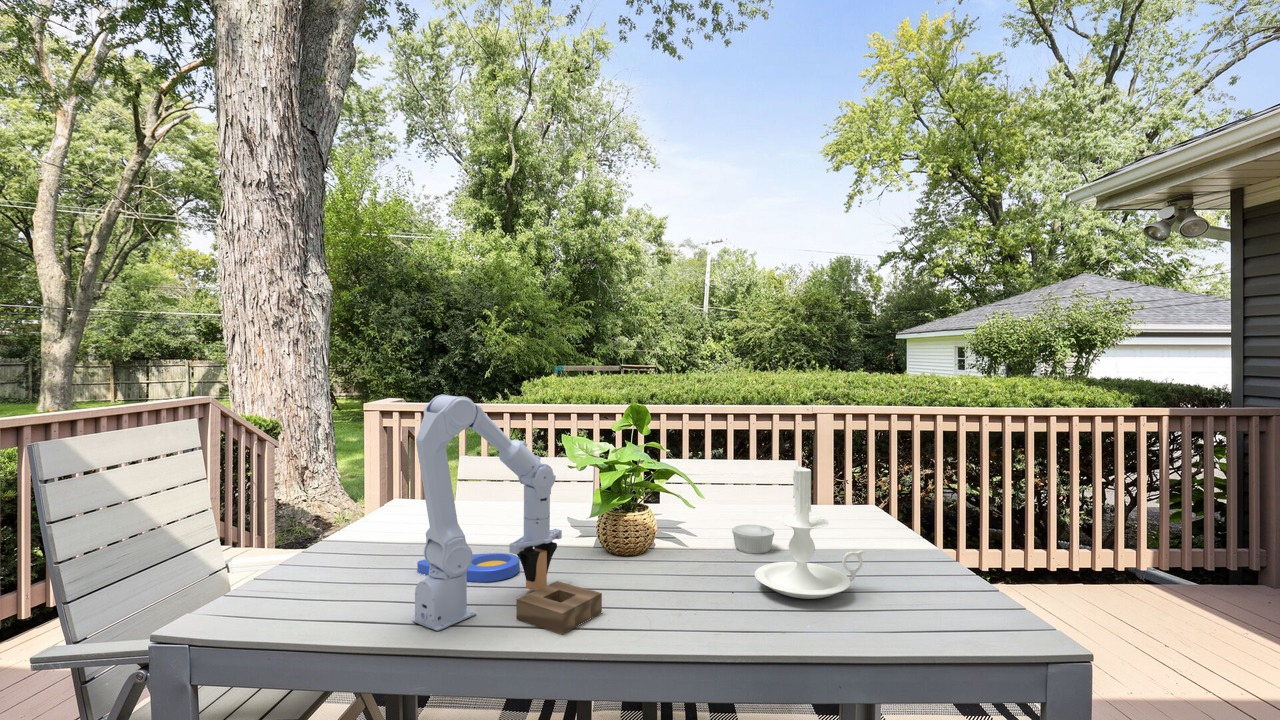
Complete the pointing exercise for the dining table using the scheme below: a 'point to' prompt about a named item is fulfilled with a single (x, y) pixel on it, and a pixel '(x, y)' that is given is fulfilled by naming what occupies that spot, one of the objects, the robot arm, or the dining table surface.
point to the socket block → (558, 607)
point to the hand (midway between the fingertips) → (536, 578)
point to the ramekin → (753, 538)
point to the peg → (539, 572)
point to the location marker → (485, 567)
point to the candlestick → (805, 553)
